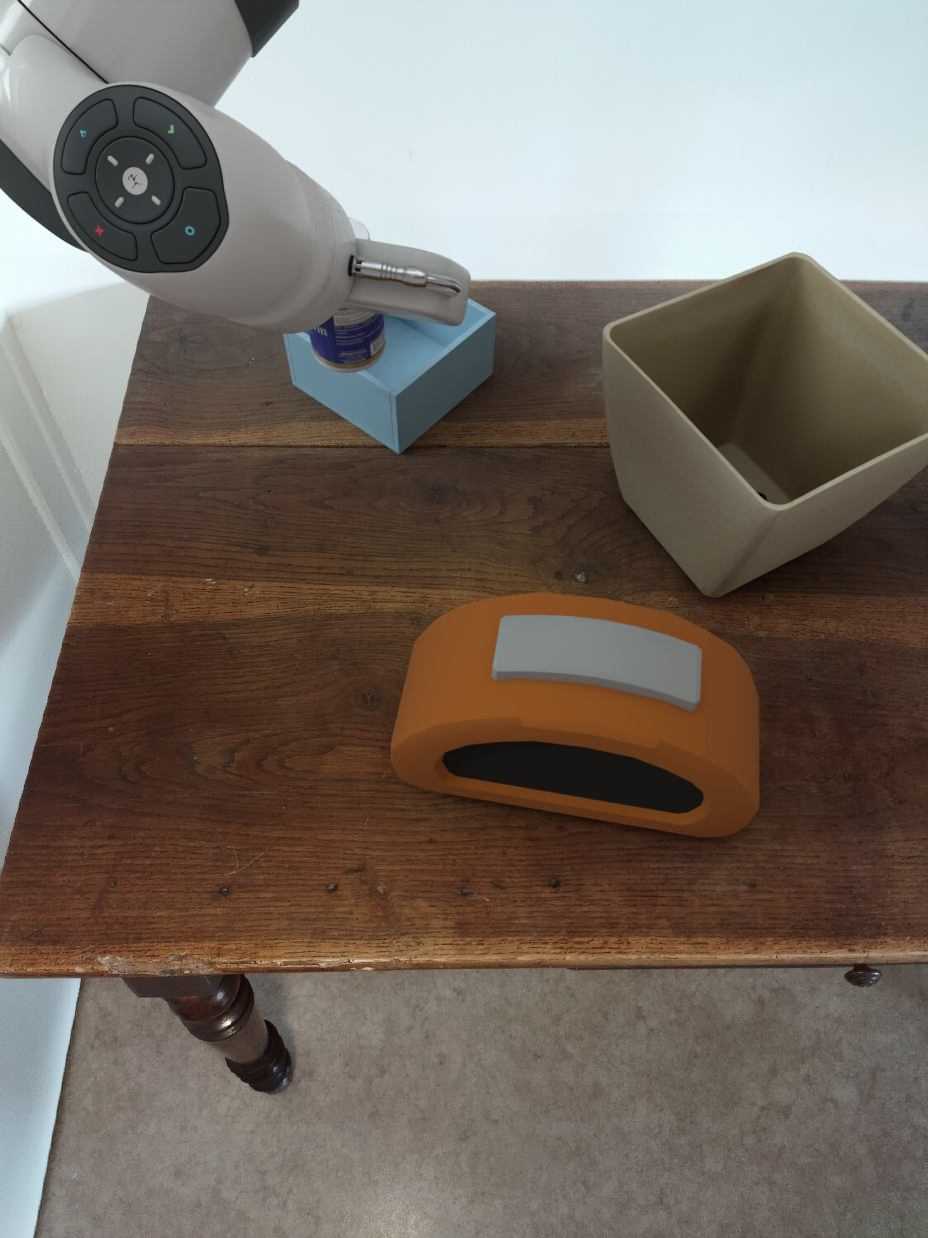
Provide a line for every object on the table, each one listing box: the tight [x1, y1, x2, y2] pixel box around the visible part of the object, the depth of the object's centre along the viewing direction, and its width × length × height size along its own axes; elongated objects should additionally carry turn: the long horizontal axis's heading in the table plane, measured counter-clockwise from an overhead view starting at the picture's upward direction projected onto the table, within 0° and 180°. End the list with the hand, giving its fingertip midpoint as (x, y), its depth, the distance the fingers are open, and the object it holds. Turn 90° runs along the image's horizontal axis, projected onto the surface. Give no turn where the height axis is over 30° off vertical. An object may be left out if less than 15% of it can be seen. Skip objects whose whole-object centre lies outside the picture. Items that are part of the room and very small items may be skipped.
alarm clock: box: [390, 591, 760, 838], centre depth 56 cm, size 23×9×17 cm, turn 80°
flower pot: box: [601, 251, 928, 599], centre depth 68 cm, size 19×19×17 cm
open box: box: [282, 297, 497, 455], centre depth 79 cm, size 13×13×7 cm
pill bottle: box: [309, 216, 386, 373], centre depth 64 cm, size 6×6×10 cm
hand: (344, 285), depth 64 cm, fingers closed on pill bottle, 6 cm apart
